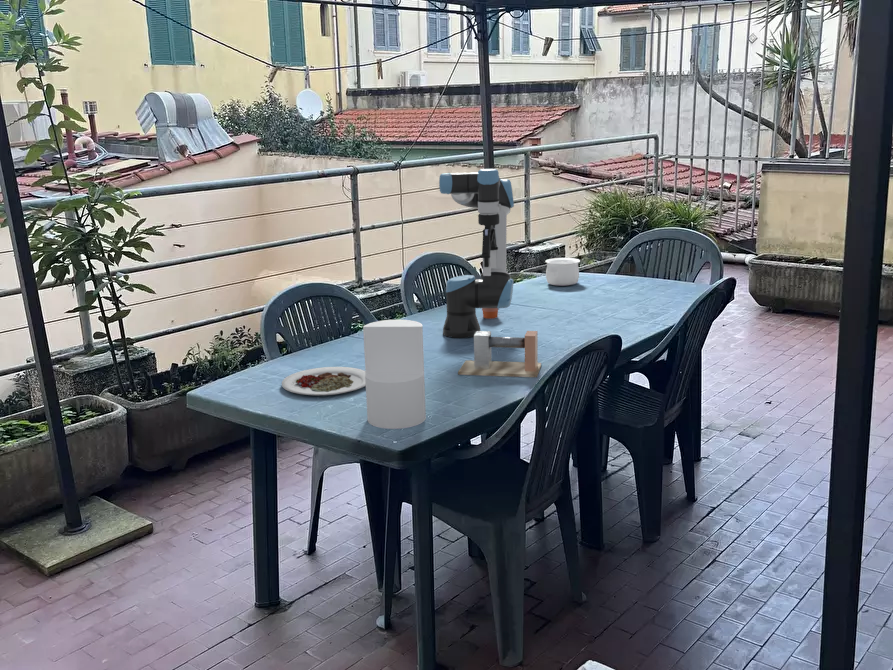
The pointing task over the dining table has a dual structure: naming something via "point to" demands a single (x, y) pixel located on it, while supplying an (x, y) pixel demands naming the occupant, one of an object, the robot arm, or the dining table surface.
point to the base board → (499, 369)
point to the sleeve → (482, 350)
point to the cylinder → (394, 373)
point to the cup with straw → (490, 313)
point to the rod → (507, 342)
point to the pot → (562, 271)
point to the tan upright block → (531, 350)
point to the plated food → (325, 381)
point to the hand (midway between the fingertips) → (489, 271)
